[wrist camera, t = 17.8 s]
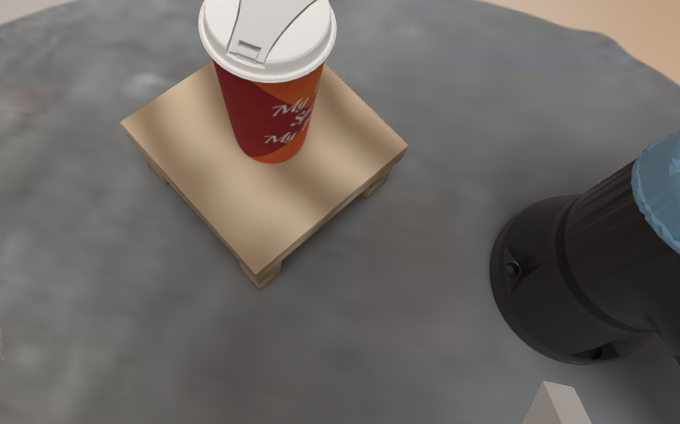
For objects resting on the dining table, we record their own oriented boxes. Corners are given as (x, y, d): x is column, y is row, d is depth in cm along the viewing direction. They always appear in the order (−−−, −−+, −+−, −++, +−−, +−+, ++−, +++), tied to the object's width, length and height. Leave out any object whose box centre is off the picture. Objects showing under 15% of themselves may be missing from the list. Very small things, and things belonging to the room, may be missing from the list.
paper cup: (299, 190, 40) (311, 88, 27) (205, 156, 40) (170, 37, 27) (332, 107, 42) (358, -22, 29) (244, 76, 42) (230, -68, 29)
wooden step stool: (277, 72, 52) (278, 17, 45) (388, 183, 50) (408, 145, 42) (144, 165, 47) (119, 122, 40) (259, 295, 45) (255, 274, 37)
